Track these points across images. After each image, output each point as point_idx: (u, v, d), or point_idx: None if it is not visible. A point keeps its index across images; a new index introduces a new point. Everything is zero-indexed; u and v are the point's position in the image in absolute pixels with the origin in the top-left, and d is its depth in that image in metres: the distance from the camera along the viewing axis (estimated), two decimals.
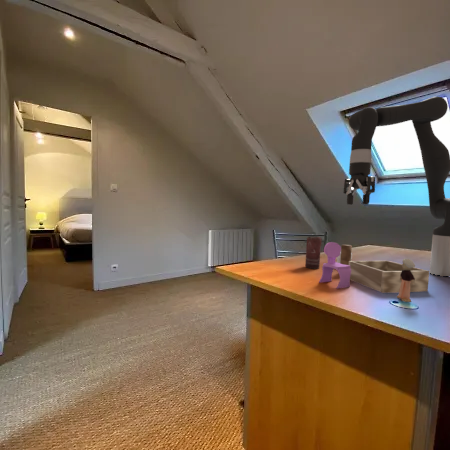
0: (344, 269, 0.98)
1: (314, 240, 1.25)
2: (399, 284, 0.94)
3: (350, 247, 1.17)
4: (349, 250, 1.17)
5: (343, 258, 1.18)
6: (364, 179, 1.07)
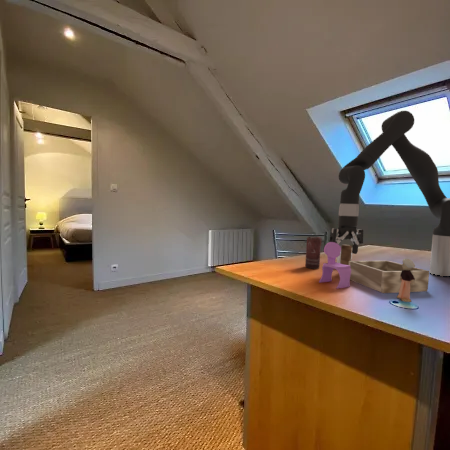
0: (344, 269, 0.98)
1: (314, 240, 1.25)
2: (399, 284, 0.94)
3: (350, 247, 1.17)
4: (349, 250, 1.17)
5: (343, 258, 1.18)
6: (356, 231, 1.18)
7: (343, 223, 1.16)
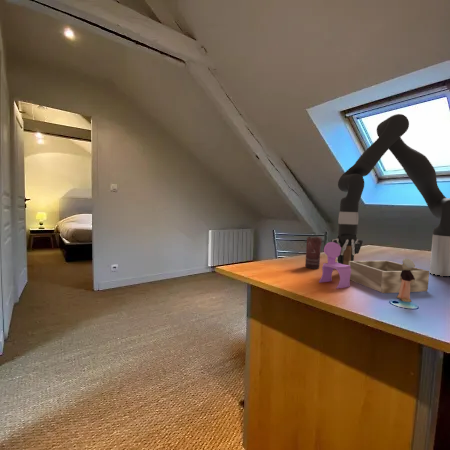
0: (344, 269, 0.98)
1: (314, 240, 1.25)
2: (399, 284, 0.94)
3: (350, 247, 1.17)
4: (349, 250, 1.17)
5: (343, 258, 1.18)
6: (356, 240, 1.18)
7: (343, 231, 1.16)
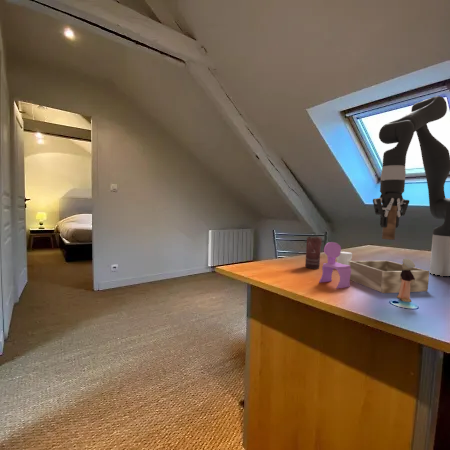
0: (344, 269, 0.98)
1: (314, 240, 1.25)
2: (399, 284, 0.94)
3: (396, 207, 1.00)
4: (394, 211, 1.00)
5: (387, 220, 1.01)
6: (401, 199, 1.02)
7: (388, 188, 0.99)
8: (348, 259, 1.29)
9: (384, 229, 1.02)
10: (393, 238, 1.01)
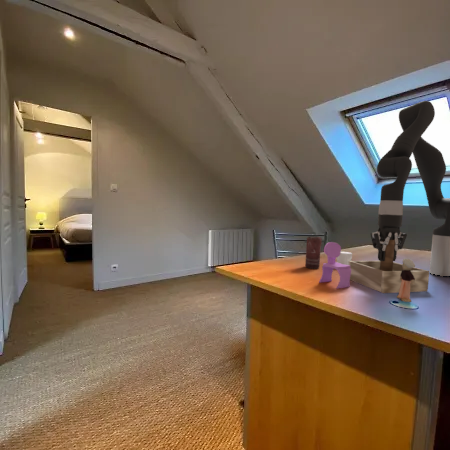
0: (344, 269, 0.98)
1: (314, 240, 1.25)
2: (399, 284, 0.94)
3: (393, 241, 1.01)
4: (392, 245, 1.01)
5: (385, 254, 1.02)
6: (399, 233, 1.03)
7: (385, 223, 1.00)
8: (348, 259, 1.29)
9: (382, 262, 1.03)
10: None
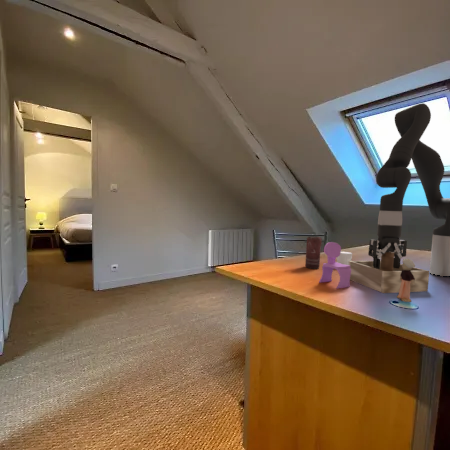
0: (344, 269, 0.98)
1: (314, 240, 1.25)
2: (399, 284, 0.94)
3: (392, 254, 1.01)
4: (391, 258, 1.01)
5: (384, 267, 1.02)
6: (399, 243, 1.03)
7: (385, 233, 1.00)
8: (348, 259, 1.29)
9: None
10: None
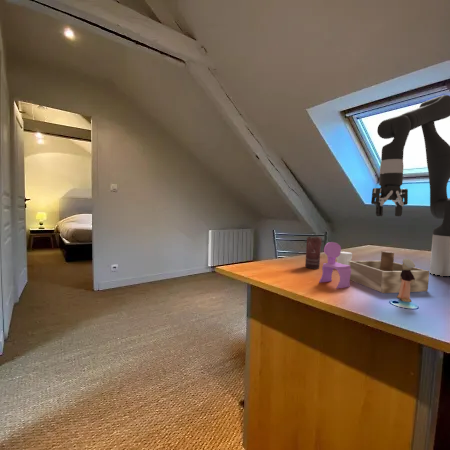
0: (344, 269, 0.98)
1: (314, 240, 1.25)
2: (399, 284, 0.94)
3: (392, 254, 1.01)
4: (391, 258, 1.01)
5: (384, 267, 1.02)
6: (400, 191, 1.06)
7: (387, 181, 1.03)
8: (348, 259, 1.29)
9: None
10: None
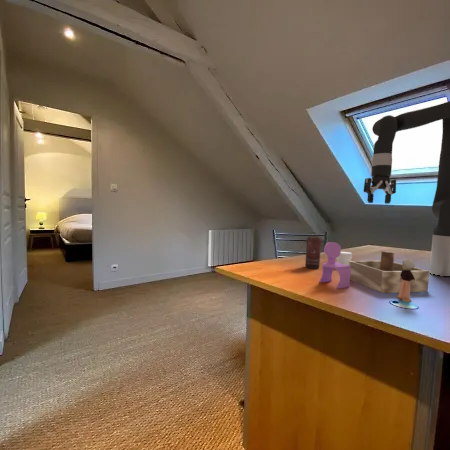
0: (344, 269, 0.98)
1: (314, 240, 1.25)
2: (399, 284, 0.94)
3: (392, 254, 1.01)
4: (391, 258, 1.01)
5: (384, 267, 1.02)
6: (389, 181, 1.22)
7: (377, 172, 1.19)
8: (348, 259, 1.29)
9: None
10: None
